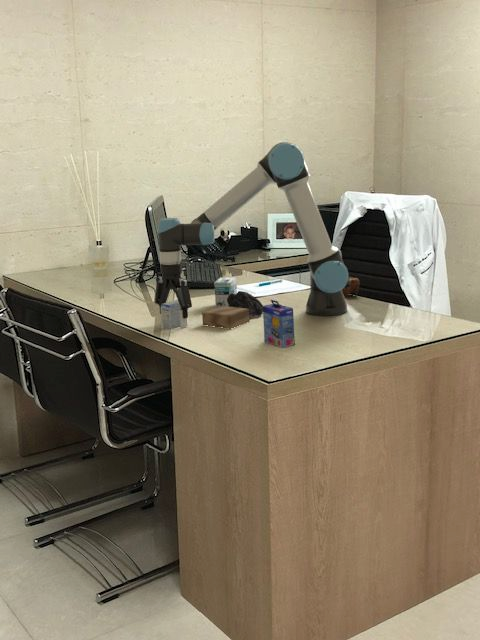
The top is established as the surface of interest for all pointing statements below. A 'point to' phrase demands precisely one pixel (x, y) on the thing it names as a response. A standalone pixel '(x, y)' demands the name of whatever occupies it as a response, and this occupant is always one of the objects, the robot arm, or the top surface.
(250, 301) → the black rock
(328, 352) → the top surface
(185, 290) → the robot arm
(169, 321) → the medicine box
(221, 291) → the light bulb box
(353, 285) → the decorative turtle
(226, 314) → the walnut desk box
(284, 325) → the ink cartridge box
